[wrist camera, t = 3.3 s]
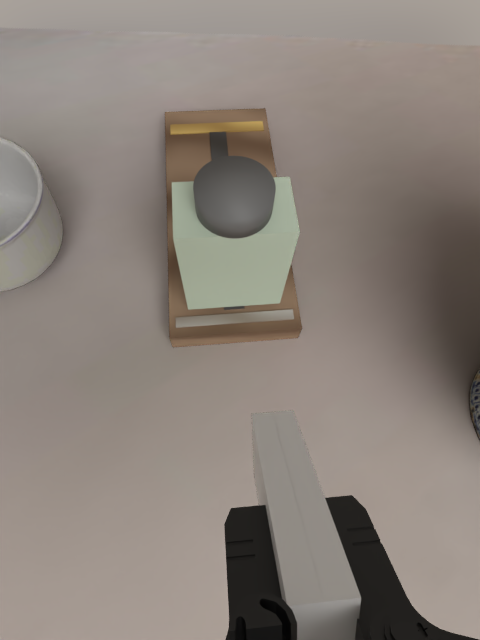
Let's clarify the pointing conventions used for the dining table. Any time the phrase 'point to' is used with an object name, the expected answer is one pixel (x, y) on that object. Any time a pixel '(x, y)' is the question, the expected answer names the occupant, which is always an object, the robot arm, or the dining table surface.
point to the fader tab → (234, 234)
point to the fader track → (181, 166)
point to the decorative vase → (475, 402)
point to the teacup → (25, 219)
